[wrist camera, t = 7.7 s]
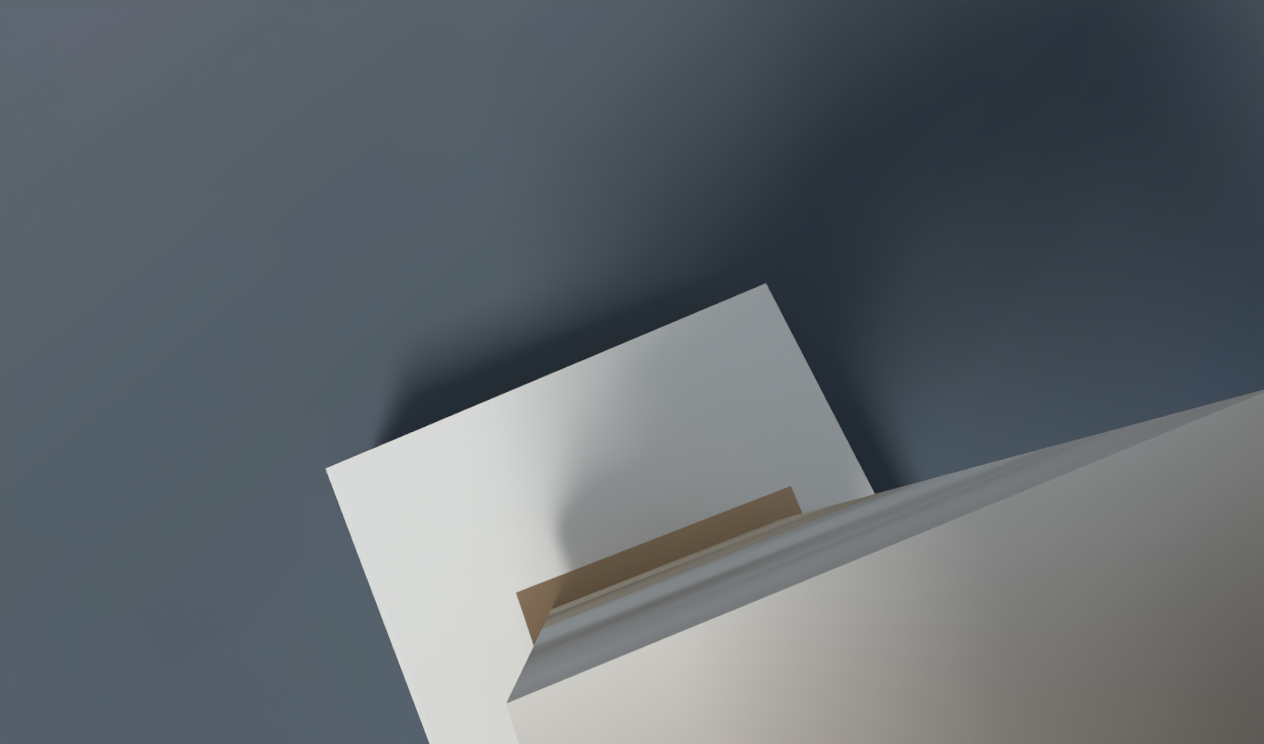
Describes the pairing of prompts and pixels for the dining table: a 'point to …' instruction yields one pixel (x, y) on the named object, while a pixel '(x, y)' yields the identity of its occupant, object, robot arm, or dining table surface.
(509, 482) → the dock
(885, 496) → the beige tall block
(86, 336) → the dining table surface
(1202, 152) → the dining table surface
